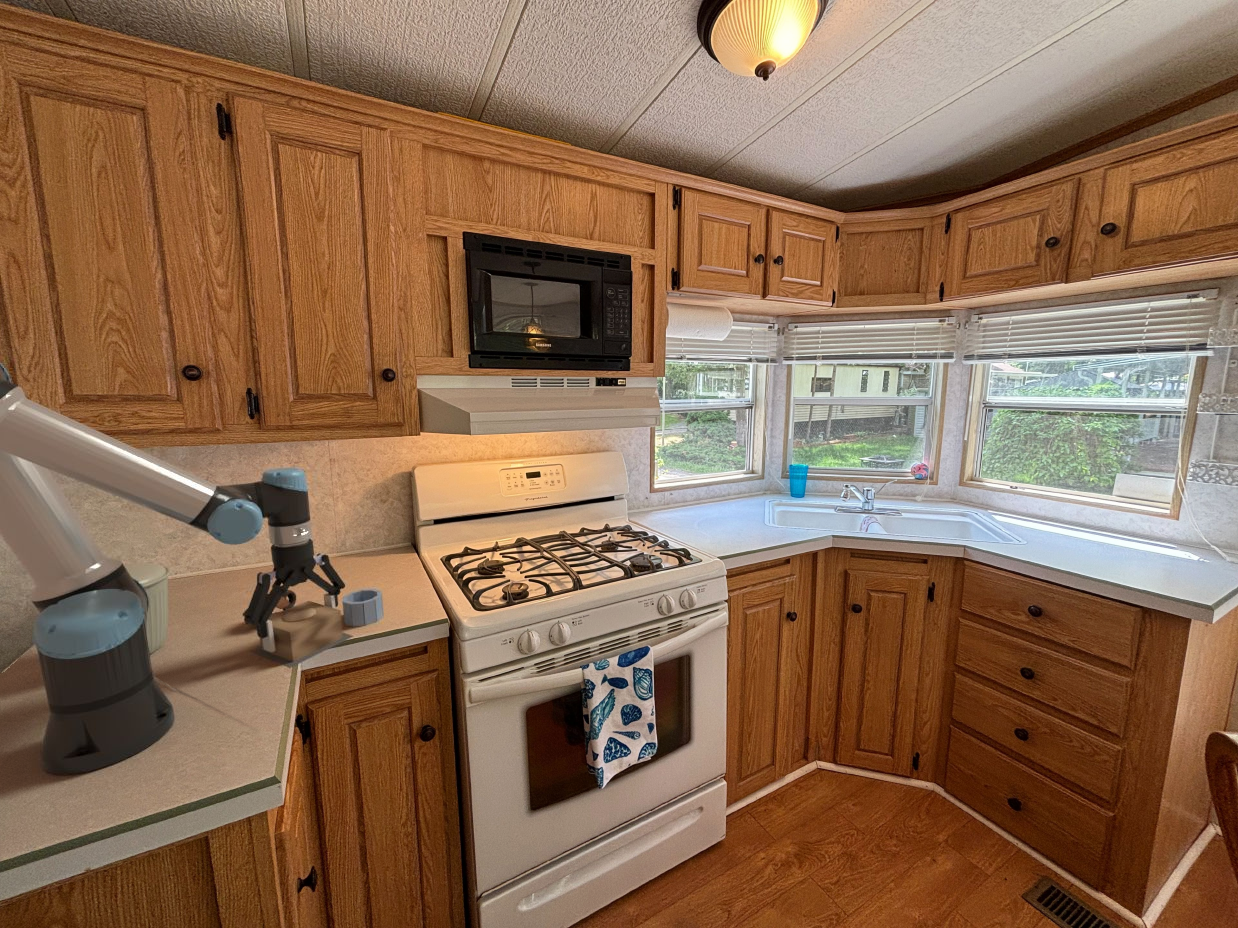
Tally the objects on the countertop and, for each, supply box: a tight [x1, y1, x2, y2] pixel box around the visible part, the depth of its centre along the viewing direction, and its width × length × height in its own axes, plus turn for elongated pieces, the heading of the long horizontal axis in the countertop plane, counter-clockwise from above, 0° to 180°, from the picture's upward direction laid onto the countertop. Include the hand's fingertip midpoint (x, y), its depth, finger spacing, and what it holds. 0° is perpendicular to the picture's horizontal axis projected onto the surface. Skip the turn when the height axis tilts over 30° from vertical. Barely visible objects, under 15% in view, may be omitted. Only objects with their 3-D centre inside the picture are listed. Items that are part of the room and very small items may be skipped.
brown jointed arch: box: [242, 589, 297, 625], centre depth 121 cm, size 12×10×8 cm
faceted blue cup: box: [341, 588, 385, 627], centre depth 122 cm, size 8×9×6 cm
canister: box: [111, 557, 172, 655], centre depth 105 cm, size 18×18×21 cm
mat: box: [249, 631, 354, 669], centre depth 111 cm, size 14×14×1 cm
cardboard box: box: [259, 600, 344, 662], centre depth 110 cm, size 11×11×7 cm
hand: (302, 635), depth 111 cm, fingers open, 13 cm apart
